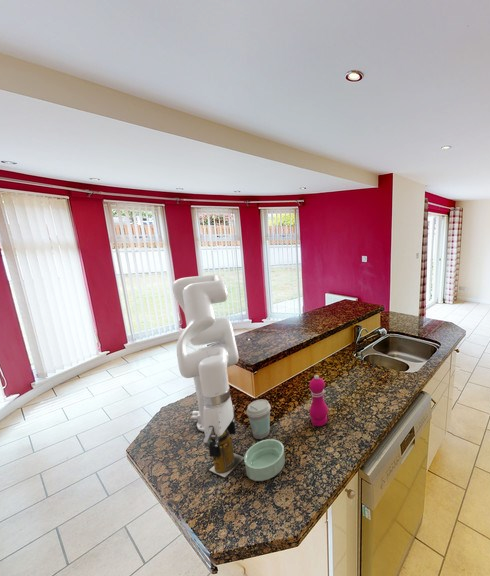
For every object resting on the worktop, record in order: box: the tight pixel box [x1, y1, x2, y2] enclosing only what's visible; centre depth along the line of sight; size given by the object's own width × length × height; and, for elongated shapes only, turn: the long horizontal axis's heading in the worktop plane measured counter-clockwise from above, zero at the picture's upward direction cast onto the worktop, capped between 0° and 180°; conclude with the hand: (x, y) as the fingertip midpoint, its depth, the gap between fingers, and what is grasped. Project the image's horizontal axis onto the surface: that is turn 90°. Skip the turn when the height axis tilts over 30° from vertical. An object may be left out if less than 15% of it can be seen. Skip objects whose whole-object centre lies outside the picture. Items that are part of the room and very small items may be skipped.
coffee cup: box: [246, 399, 272, 440], centre depth 105 cm, size 8×8×12 cm
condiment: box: [208, 429, 245, 478], centre depth 91 cm, size 7×8×12 cm
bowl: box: [243, 438, 286, 482], centre depth 91 cm, size 12×12×5 cm
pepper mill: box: [308, 374, 329, 427], centre depth 110 cm, size 7×7×20 cm
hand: (223, 444), depth 90 cm, fingers open, 9 cm apart
